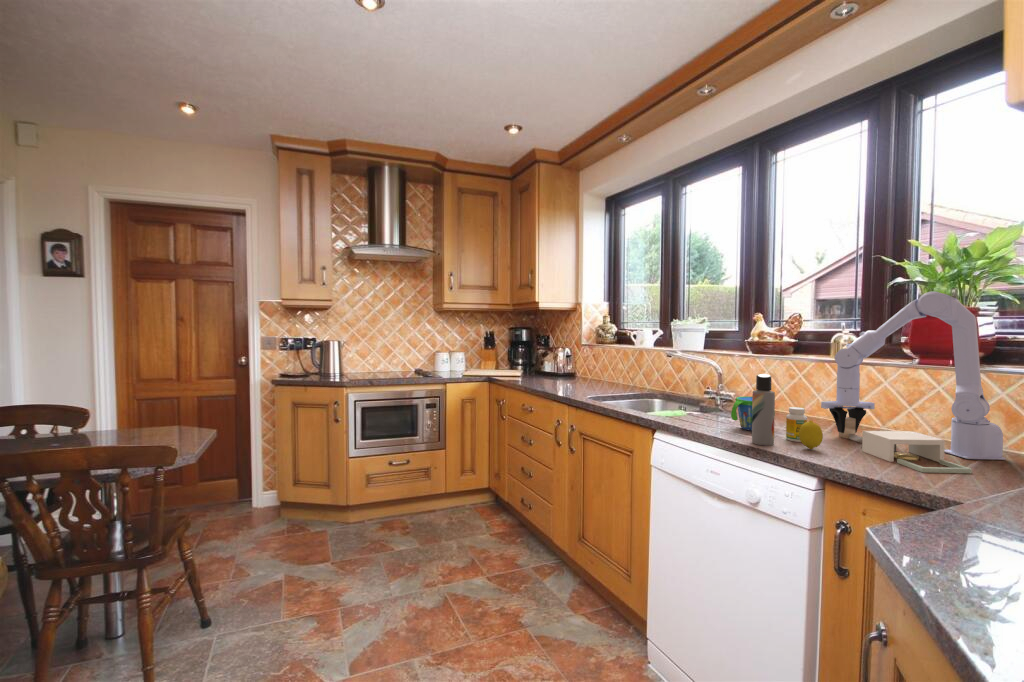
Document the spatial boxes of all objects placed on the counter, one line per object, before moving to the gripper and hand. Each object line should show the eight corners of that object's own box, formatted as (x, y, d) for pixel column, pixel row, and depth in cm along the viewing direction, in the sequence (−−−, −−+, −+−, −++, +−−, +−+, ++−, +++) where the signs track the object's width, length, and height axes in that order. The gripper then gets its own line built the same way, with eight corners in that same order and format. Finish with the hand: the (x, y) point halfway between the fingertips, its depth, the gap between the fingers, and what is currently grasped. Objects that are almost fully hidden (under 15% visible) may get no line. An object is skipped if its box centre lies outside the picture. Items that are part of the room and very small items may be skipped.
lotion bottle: (773, 442, 138) (774, 374, 137) (774, 446, 133) (776, 375, 132) (751, 440, 140) (752, 373, 140) (752, 444, 135) (753, 374, 134)
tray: (942, 463, 116) (942, 459, 116) (971, 473, 109) (971, 469, 109) (897, 462, 117) (897, 458, 117) (922, 472, 109) (922, 468, 109)
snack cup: (741, 433, 150) (742, 401, 149) (721, 426, 160) (722, 396, 160) (785, 431, 152) (786, 400, 152) (763, 425, 162) (763, 395, 162)
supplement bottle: (796, 437, 144) (797, 406, 144) (811, 441, 139) (812, 409, 138) (781, 438, 143) (782, 407, 142) (796, 442, 137) (796, 410, 137)
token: (908, 457, 124) (908, 452, 123) (923, 462, 119) (924, 457, 118) (888, 456, 124) (888, 452, 124) (903, 462, 119) (903, 457, 119)
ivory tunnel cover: (912, 452, 127) (912, 431, 127) (944, 462, 117) (944, 440, 117) (862, 451, 128) (862, 430, 128) (889, 461, 118) (889, 439, 118)
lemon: (826, 452, 127) (826, 422, 126) (803, 451, 128) (803, 422, 127) (817, 447, 132) (817, 419, 132) (795, 446, 133) (795, 418, 133)
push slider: (834, 436, 146) (834, 416, 146) (852, 436, 146) (853, 417, 146) (875, 450, 128) (875, 429, 128) (896, 451, 128) (896, 429, 128)
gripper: (863, 386, 148) (862, 429, 148) (815, 386, 148) (814, 429, 149) (880, 389, 141) (878, 434, 141) (829, 388, 141) (828, 434, 142)
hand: (847, 432), depth 144 cm, fingers closed on push slider, 3 cm apart
